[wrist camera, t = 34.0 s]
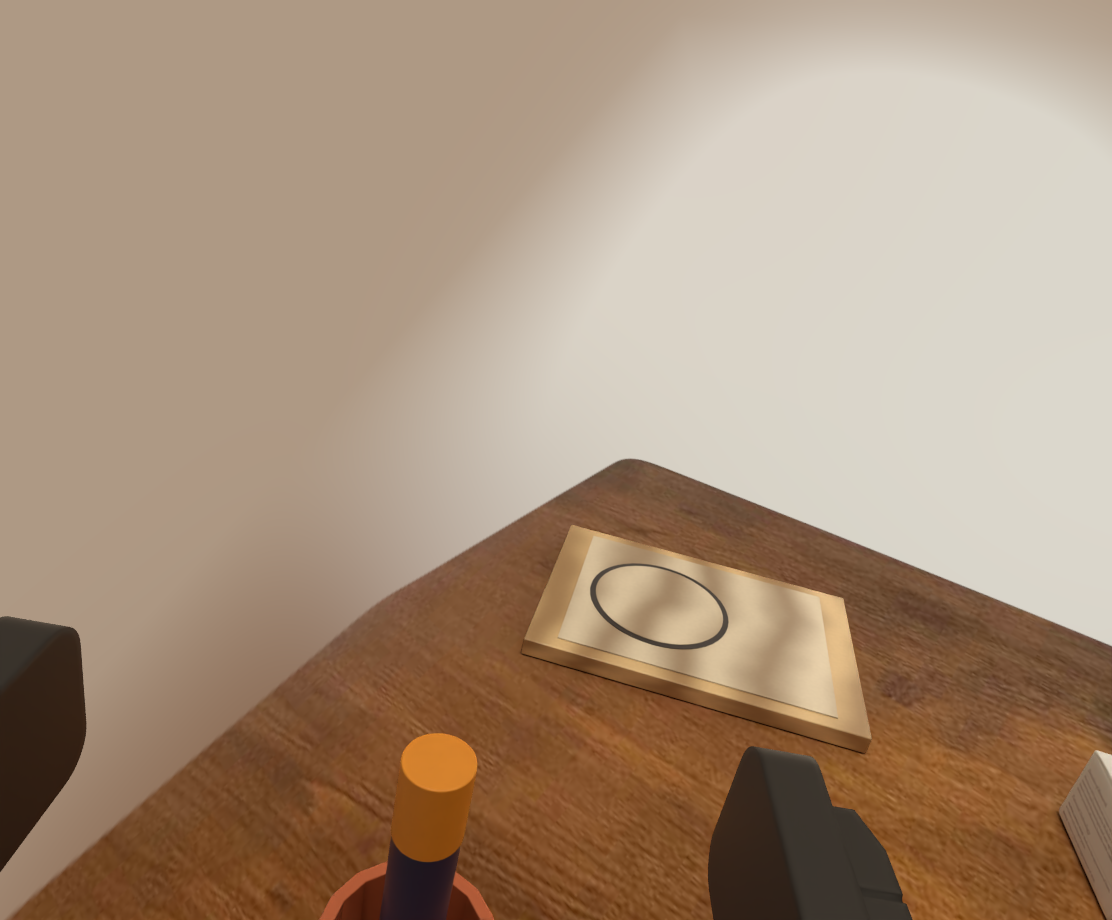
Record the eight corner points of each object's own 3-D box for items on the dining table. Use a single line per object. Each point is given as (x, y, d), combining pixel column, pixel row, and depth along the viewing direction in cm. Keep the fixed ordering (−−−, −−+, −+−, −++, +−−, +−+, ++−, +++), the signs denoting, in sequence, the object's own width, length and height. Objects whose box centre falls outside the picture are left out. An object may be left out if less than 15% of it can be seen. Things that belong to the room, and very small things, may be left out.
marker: (350, 1059, 30) (389, 777, 24) (375, 998, 32) (417, 723, 26) (410, 1081, 29) (464, 801, 23) (432, 1017, 31) (487, 745, 26)
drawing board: (520, 653, 53) (524, 636, 52) (568, 536, 67) (571, 522, 66) (865, 754, 50) (873, 737, 50) (838, 610, 65) (844, 596, 64)
